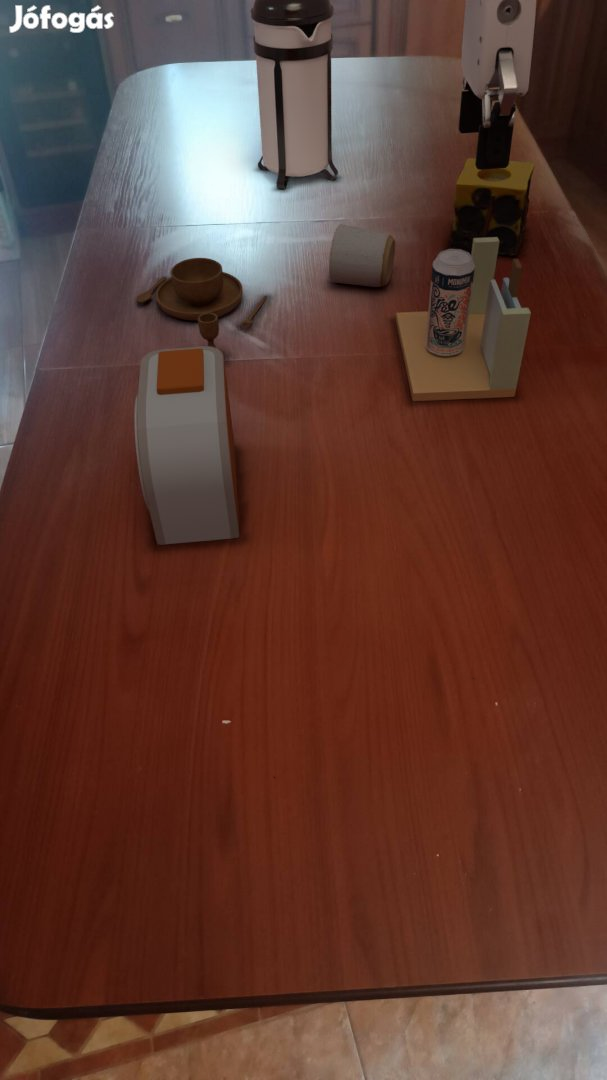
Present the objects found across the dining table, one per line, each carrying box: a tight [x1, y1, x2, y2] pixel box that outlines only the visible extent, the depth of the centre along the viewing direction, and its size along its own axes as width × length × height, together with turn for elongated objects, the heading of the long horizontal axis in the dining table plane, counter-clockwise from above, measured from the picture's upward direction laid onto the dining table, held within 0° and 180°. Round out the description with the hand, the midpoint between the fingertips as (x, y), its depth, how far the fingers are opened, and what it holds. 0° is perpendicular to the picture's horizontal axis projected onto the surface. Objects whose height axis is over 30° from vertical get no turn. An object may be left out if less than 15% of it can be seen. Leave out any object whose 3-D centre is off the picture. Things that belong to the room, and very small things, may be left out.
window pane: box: [500, 258, 523, 309], centre depth 92 cm, size 1×7×12 cm, turn 1°
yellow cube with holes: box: [449, 157, 536, 257], centre depth 118 cm, size 10×10×10 cm
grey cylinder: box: [328, 224, 396, 288], centre depth 112 cm, size 11×8×8 cm
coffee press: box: [250, 0, 339, 190], centre depth 131 cm, size 17×16×30 cm
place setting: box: [135, 257, 268, 348], centre depth 106 cm, size 18×20×6 cm
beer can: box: [425, 248, 475, 356], centre depth 95 cm, size 5×5×12 cm
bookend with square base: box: [395, 237, 532, 402], centre depth 96 cm, size 12×18×11 cm, turn 2°
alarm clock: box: [133, 345, 241, 546], centre depth 79 cm, size 15×8×14 cm, turn 5°
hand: (482, 148), depth 83 cm, fingers open, 9 cm apart
